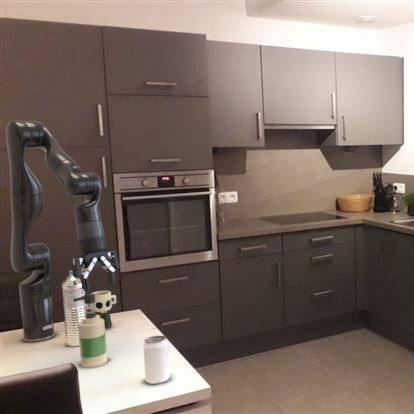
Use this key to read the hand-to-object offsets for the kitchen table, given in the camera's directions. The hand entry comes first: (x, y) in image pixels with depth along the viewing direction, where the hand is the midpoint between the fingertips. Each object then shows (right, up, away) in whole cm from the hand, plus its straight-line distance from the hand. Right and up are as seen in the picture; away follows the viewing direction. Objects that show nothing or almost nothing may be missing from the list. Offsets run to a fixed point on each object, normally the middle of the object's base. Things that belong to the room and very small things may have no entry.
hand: (99, 287), depth 171 cm
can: (+24, -24, -16) cm, 38 cm away
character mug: (-13, -19, +30) cm, 38 cm away
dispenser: (0, -23, -3) cm, 23 cm away
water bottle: (-14, -21, +14) cm, 29 cm away
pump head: (-1, -6, -6) cm, 9 cm away
